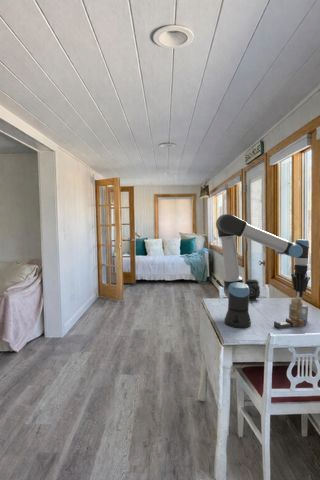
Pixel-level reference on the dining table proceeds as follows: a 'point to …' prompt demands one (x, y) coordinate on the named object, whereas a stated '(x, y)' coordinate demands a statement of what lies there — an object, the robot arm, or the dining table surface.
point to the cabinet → (301, 311)
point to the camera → (253, 289)
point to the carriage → (295, 313)
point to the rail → (285, 324)
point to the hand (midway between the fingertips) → (298, 301)
